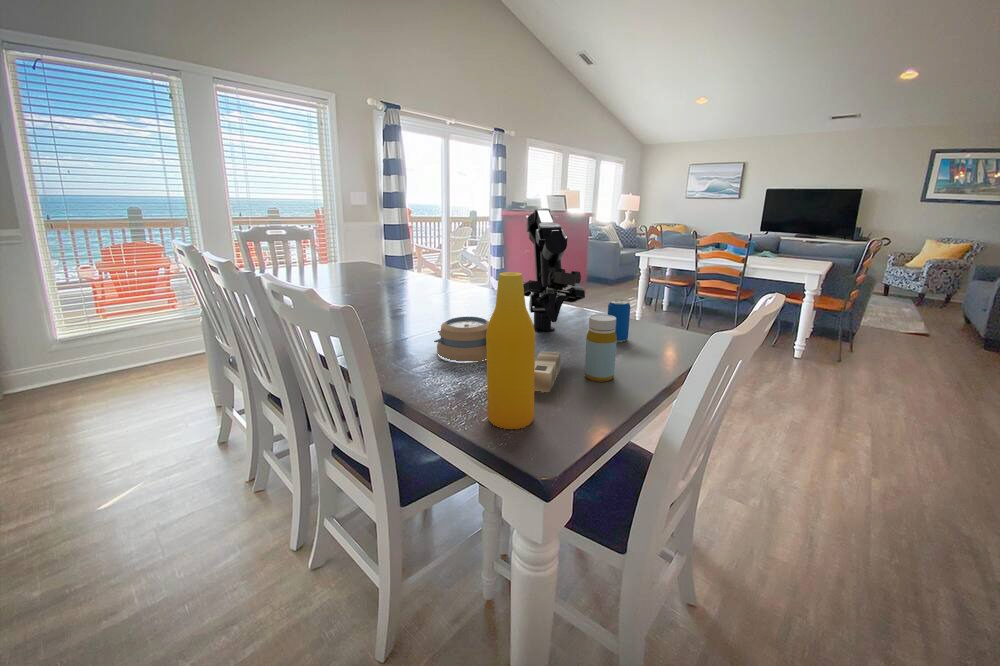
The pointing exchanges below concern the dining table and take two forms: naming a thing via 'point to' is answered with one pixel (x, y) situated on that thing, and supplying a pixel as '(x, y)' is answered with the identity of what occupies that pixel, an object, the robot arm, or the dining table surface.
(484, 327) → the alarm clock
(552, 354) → the block
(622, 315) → the beverage can
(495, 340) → the beer bottle
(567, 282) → the robot arm
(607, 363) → the bottle
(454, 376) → the dining table surface
